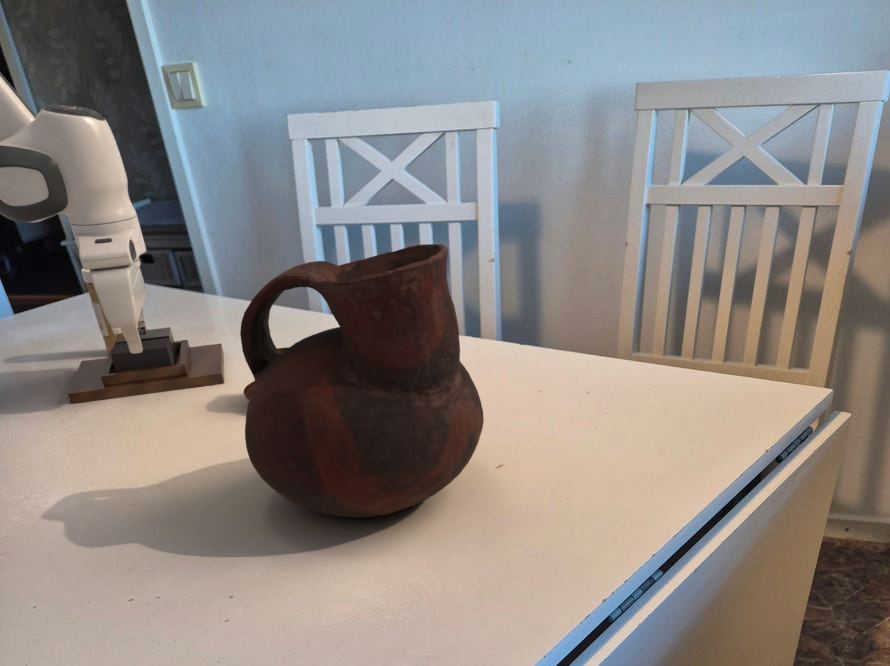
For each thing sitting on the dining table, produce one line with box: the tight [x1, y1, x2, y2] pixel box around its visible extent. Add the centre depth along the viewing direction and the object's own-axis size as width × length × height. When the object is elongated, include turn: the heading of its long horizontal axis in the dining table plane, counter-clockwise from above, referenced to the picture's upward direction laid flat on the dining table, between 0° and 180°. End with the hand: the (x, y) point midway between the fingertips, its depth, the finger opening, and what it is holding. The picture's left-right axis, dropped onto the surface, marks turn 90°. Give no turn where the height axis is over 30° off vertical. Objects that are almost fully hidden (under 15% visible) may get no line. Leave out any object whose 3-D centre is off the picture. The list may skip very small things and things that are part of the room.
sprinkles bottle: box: [80, 267, 122, 355], centre depth 138 cm, size 5×5×14 cm
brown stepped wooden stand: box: [67, 326, 225, 405], centre depth 129 cm, size 22×16×6 cm
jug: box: [239, 243, 485, 518], centre depth 86 cm, size 25×25×25 cm
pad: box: [111, 338, 175, 373], centre depth 126 cm, size 8×5×4 cm, turn 104°
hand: (139, 342), depth 125 cm, fingers open, 8 cm apart
